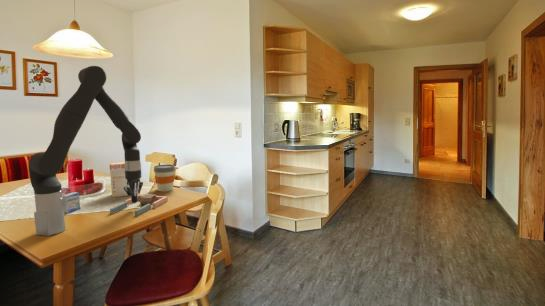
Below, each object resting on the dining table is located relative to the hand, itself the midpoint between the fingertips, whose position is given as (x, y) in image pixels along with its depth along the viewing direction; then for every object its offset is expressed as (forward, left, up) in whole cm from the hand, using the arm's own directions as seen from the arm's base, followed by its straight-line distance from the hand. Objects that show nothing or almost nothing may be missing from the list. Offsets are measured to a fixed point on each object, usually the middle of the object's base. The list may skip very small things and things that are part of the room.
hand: (134, 202), depth 159 cm
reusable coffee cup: (+38, +5, -4) cm, 39 cm away
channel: (-3, 0, -4) cm, 5 cm away
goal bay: (+9, 0, -4) cm, 10 cm away
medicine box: (-9, +30, -4) cm, 32 cm away
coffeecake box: (+23, +22, -4) cm, 32 cm away
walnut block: (+11, 0, -4) cm, 12 cm away
